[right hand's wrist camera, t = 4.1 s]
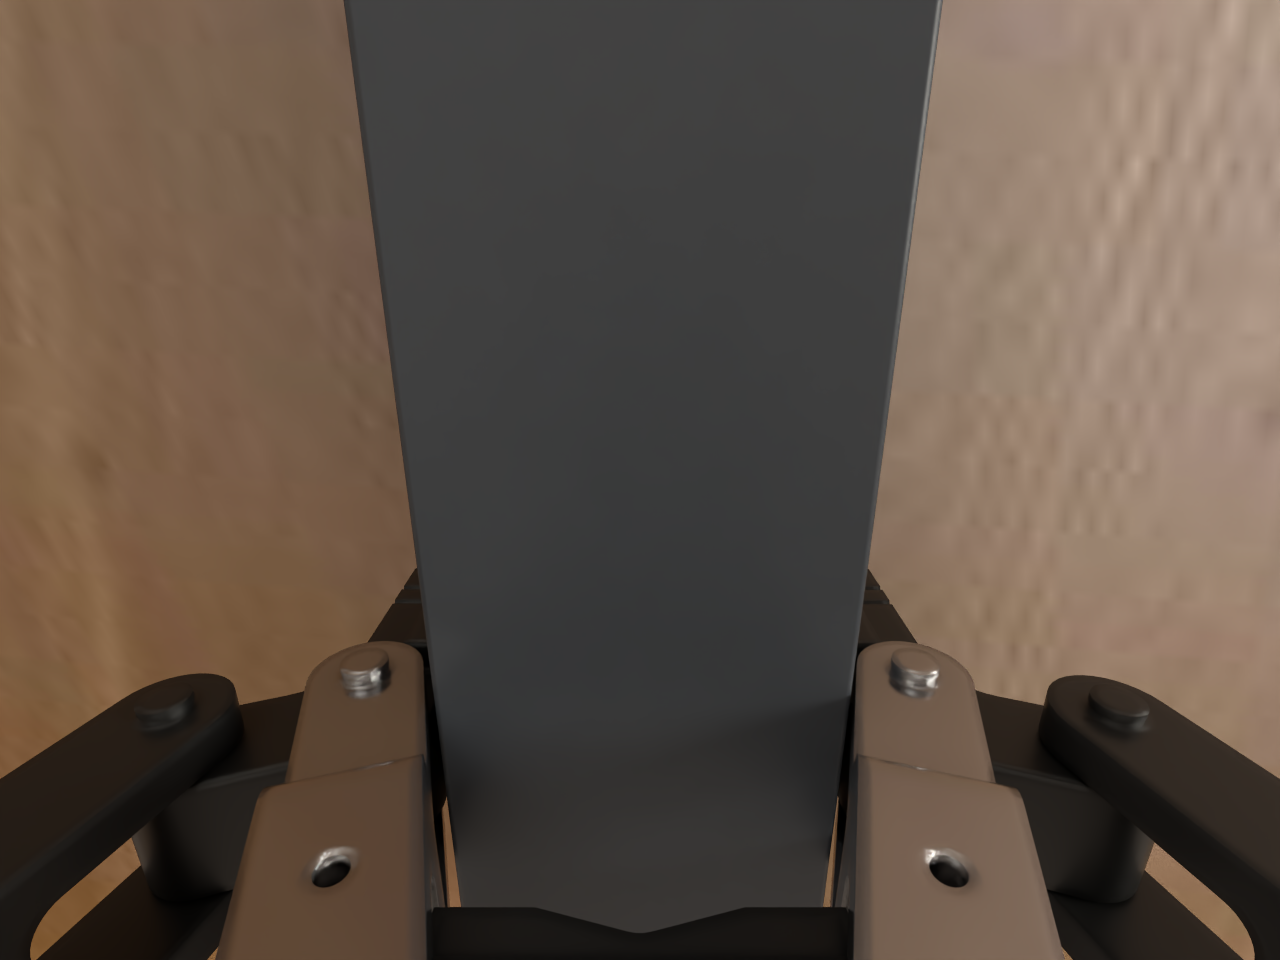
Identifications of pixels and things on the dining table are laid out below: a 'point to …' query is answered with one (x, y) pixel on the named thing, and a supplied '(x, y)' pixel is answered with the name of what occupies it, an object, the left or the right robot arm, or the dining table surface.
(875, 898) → the right robot arm
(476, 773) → the bar
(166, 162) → the dining table surface
